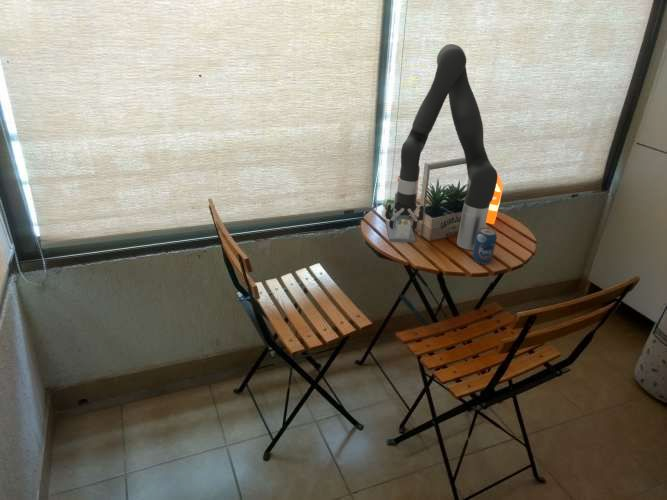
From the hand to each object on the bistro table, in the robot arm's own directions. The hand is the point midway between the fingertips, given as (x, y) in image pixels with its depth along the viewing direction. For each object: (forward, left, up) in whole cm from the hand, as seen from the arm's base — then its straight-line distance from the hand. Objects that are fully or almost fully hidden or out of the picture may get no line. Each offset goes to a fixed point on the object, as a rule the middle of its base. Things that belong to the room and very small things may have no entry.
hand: (402, 228), depth 197 cm
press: (0, -5, -4) cm, 7 cm away
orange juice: (-40, -23, -4) cm, 46 cm away
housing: (0, 0, -3) cm, 3 cm away
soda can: (-28, +15, -4) cm, 32 cm away
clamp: (-1, -22, -4) cm, 22 cm away
